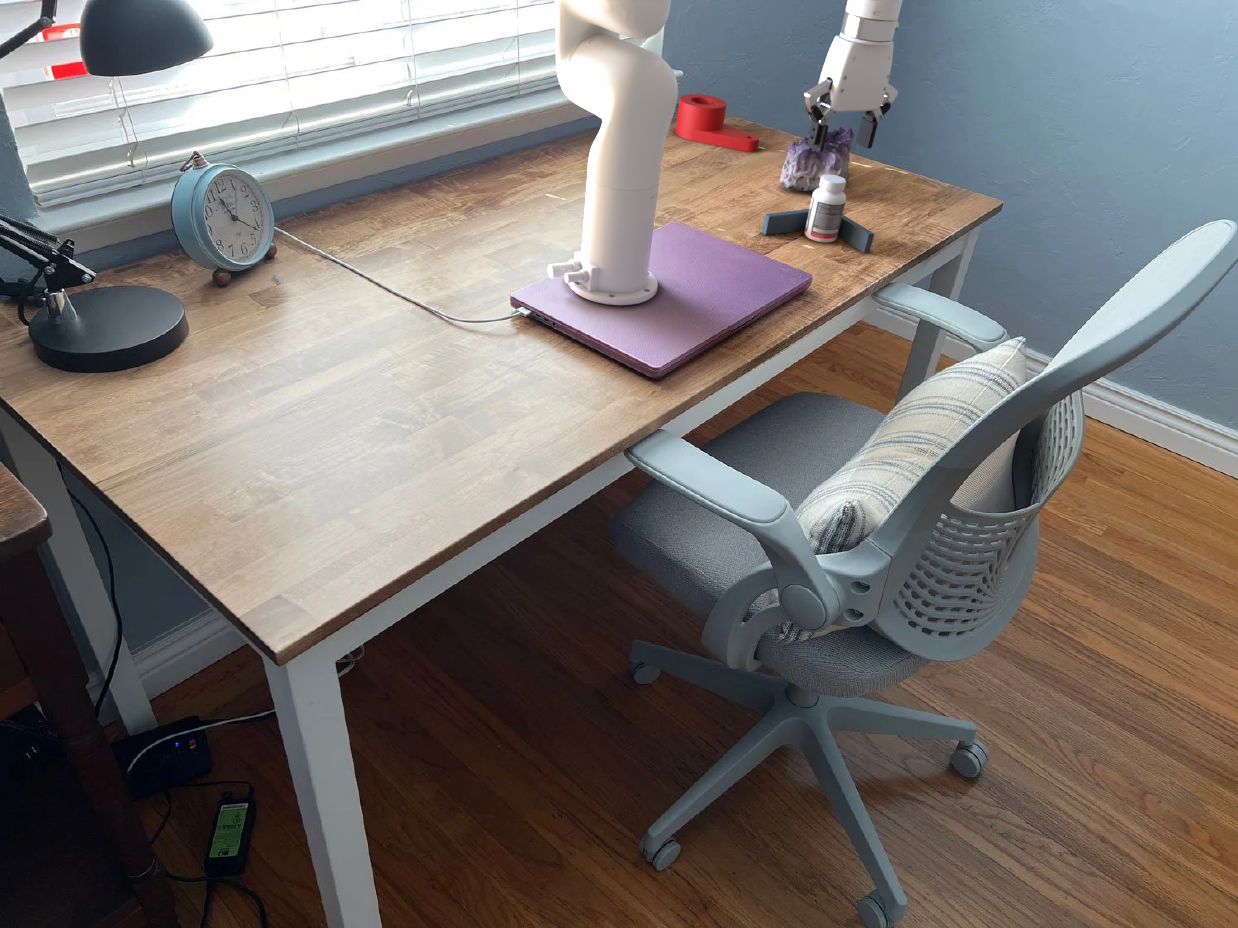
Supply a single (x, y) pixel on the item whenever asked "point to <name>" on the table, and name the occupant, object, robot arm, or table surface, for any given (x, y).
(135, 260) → the table surface
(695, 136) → the lever
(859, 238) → the corner
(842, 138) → the geode
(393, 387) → the table surface
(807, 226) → the pill bottle
